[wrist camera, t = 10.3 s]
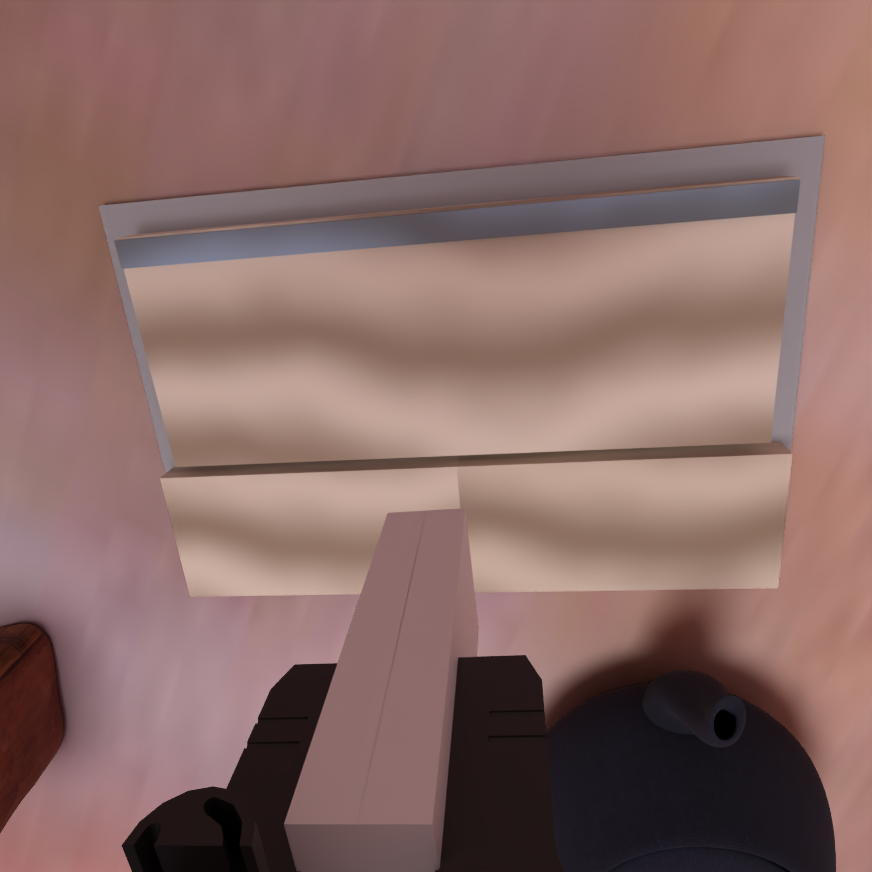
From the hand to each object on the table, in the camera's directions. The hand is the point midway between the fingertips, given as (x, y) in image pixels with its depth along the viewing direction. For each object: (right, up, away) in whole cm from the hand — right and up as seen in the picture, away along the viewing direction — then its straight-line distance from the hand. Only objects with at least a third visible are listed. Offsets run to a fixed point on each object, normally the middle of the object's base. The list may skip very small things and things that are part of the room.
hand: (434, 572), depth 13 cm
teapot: (+13, -15, +26) cm, 33 cm away
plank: (+1, +7, +17) cm, 19 cm away
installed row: (+1, -1, +21) cm, 21 cm away
